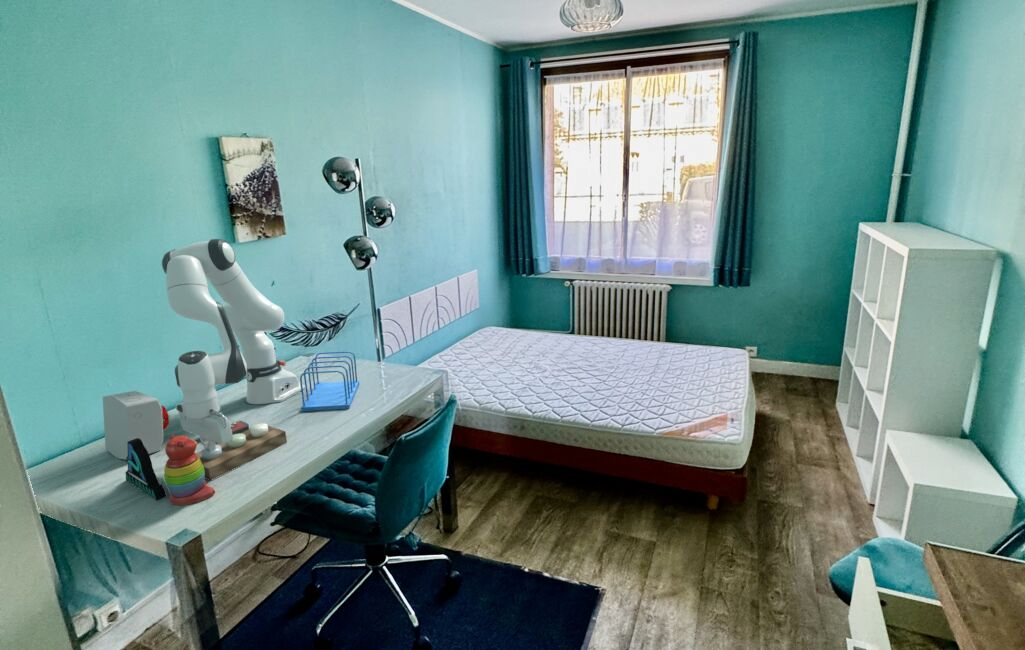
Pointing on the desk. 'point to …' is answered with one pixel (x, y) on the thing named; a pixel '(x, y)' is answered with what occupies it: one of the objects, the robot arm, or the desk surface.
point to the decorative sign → (142, 470)
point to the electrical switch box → (133, 422)
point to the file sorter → (329, 387)
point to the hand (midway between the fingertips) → (210, 449)
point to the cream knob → (259, 430)
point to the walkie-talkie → (235, 428)
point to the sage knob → (237, 441)
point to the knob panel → (242, 452)
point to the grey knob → (212, 453)
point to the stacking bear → (185, 472)
